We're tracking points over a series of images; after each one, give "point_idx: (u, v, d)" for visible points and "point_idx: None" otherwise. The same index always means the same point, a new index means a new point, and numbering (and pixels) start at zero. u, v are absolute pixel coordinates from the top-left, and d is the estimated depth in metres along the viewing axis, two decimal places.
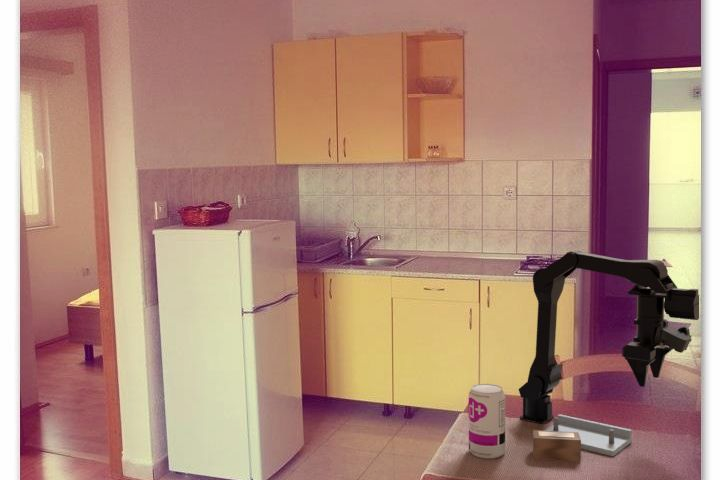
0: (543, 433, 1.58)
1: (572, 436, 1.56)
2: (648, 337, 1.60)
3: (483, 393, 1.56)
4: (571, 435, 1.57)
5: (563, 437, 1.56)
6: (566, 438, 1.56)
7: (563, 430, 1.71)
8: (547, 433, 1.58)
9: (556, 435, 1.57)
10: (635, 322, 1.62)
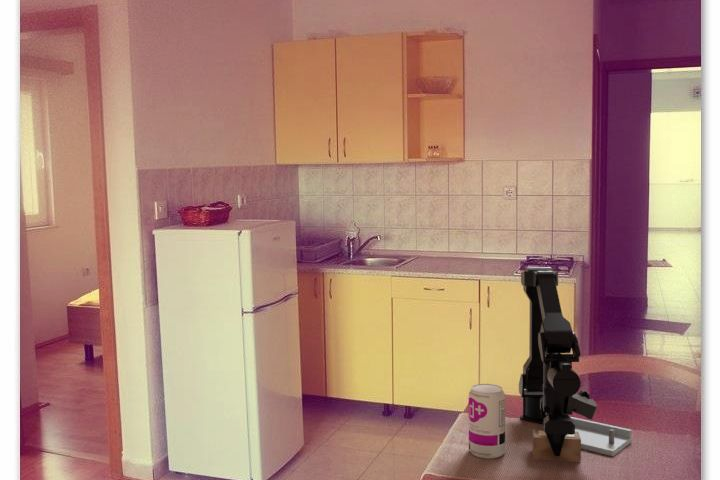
0: (543, 432, 1.58)
1: (572, 435, 1.56)
2: (560, 407, 1.54)
3: (483, 393, 1.56)
4: (571, 435, 1.57)
5: None
6: (566, 437, 1.56)
7: None
8: None
9: None
10: (545, 392, 1.55)
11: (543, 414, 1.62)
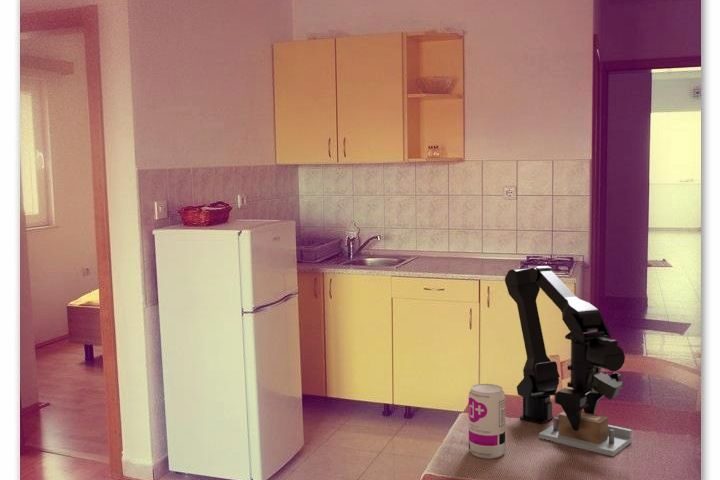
0: None
1: (595, 419, 1.63)
2: (581, 383, 1.63)
3: (483, 393, 1.56)
4: (595, 418, 1.64)
5: (586, 418, 1.64)
6: (588, 419, 1.64)
7: None
8: None
9: (581, 416, 1.66)
10: (568, 368, 1.65)
11: None
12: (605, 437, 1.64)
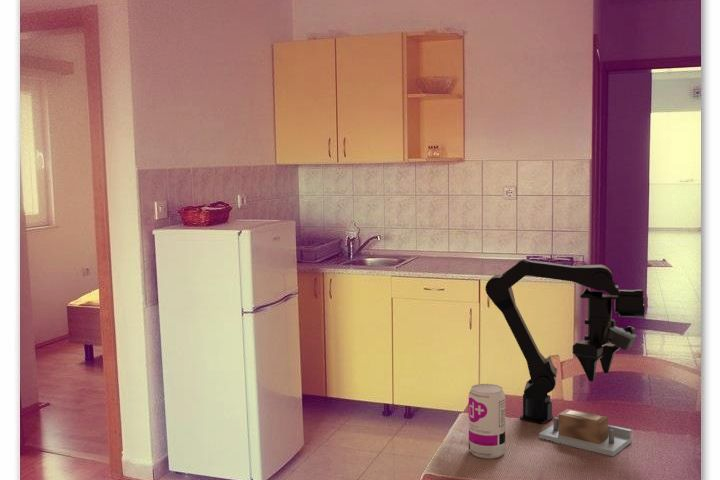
0: (572, 412, 1.68)
1: (595, 419, 1.63)
2: (597, 336, 1.74)
3: (483, 393, 1.56)
4: (595, 418, 1.64)
5: (586, 418, 1.64)
6: (588, 419, 1.64)
7: None
8: (576, 413, 1.68)
9: (581, 416, 1.66)
10: (585, 322, 1.76)
11: None
12: (605, 437, 1.64)
